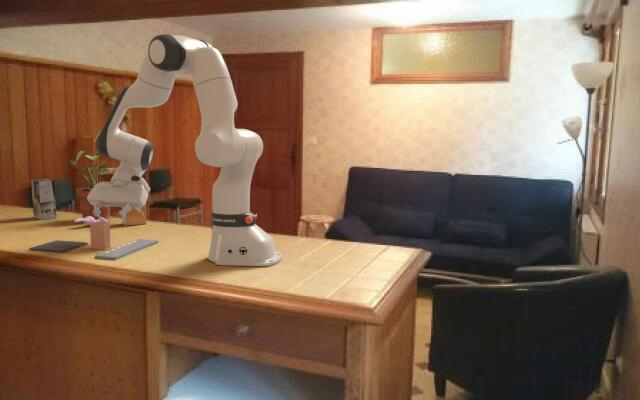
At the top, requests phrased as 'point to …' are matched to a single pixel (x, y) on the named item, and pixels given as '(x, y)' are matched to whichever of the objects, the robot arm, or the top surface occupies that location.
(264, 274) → the top surface
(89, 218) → the rabbit figure
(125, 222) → the small box
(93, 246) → the stub block
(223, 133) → the robot arm
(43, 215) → the coffee box
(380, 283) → the top surface
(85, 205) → the potted plant
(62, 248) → the mat
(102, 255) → the plate
